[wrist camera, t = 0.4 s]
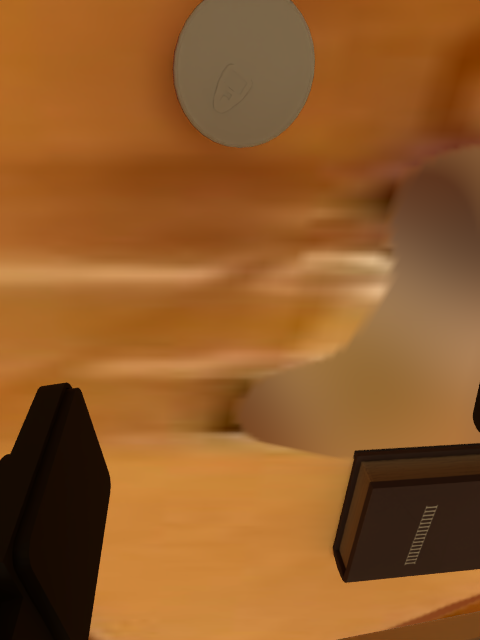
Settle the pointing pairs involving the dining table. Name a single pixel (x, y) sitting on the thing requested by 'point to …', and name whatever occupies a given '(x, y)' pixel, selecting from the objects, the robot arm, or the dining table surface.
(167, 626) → the dining table surface
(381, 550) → the book
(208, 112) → the canned food
